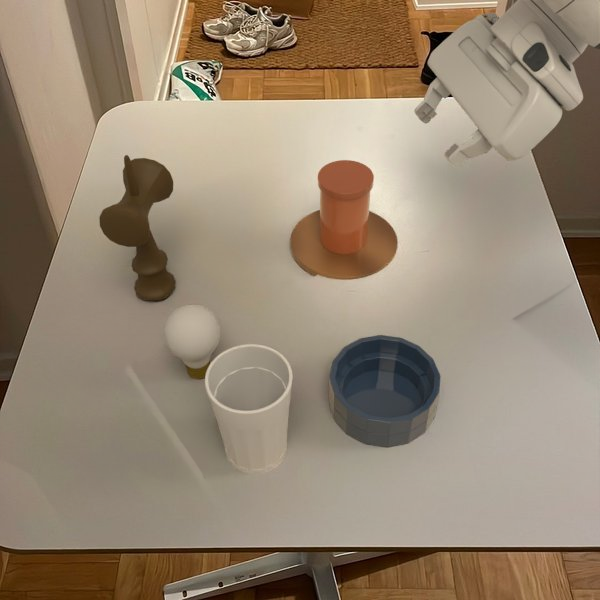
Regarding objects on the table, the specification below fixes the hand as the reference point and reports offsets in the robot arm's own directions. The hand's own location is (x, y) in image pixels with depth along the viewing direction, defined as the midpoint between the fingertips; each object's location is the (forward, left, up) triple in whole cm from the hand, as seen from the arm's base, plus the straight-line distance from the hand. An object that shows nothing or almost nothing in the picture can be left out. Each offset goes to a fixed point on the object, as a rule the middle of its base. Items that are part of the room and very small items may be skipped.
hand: (434, 139), depth 84 cm
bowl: (+20, +17, -17) cm, 31 cm away
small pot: (+8, -6, -16) cm, 19 cm away
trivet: (+8, -6, -17) cm, 20 cm away
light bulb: (+34, +2, -17) cm, 38 cm away
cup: (+34, +14, -17) cm, 40 cm away
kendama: (+32, -13, -17) cm, 38 cm away
